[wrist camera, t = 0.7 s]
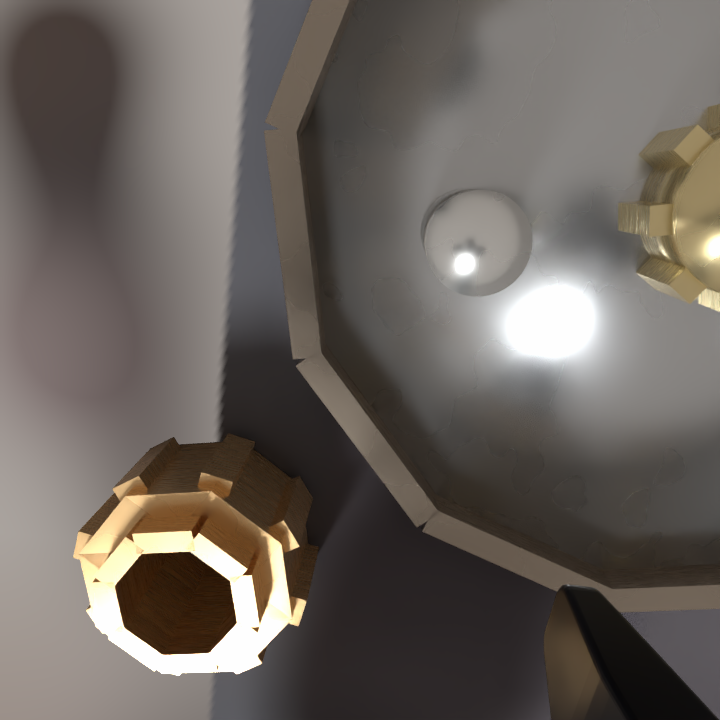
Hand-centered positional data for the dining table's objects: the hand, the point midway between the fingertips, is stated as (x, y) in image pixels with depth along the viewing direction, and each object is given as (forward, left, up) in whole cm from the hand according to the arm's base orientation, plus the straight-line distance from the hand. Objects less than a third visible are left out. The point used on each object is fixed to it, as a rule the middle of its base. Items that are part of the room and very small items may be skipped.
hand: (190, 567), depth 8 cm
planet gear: (-6, +4, -12) cm, 14 cm away
